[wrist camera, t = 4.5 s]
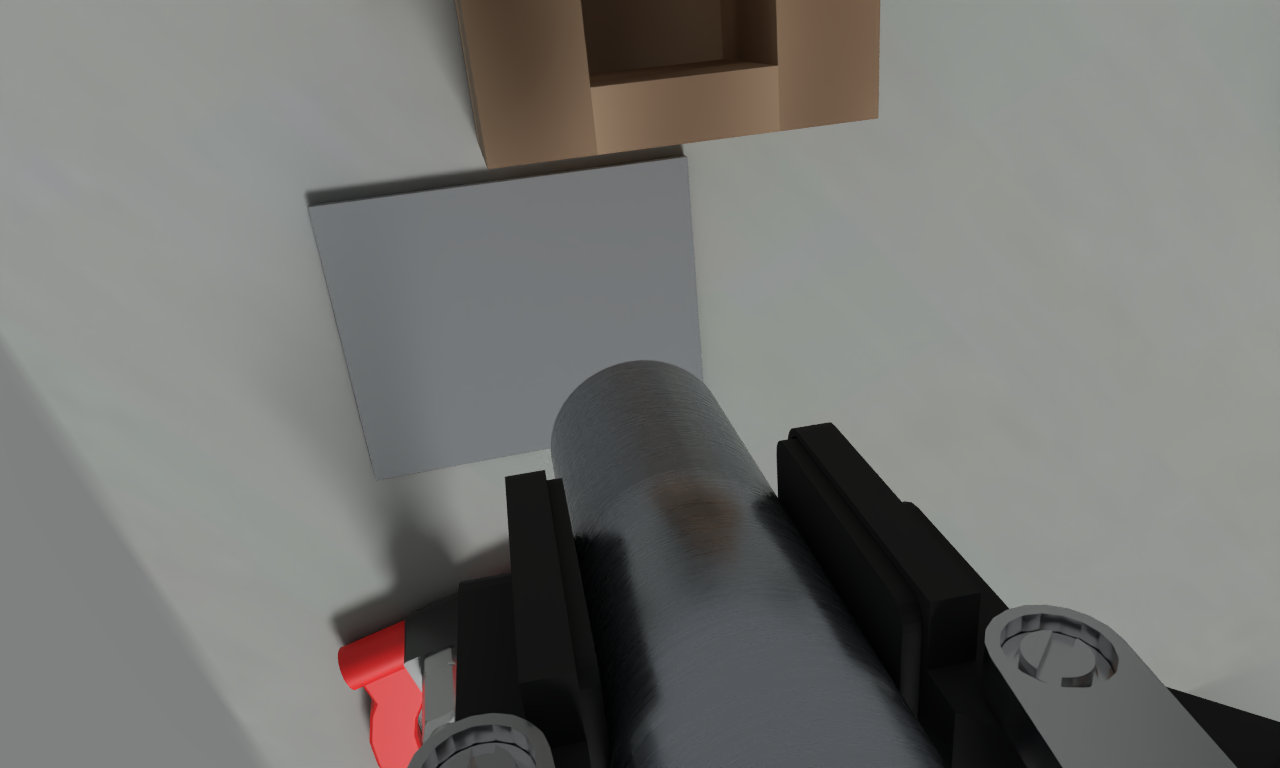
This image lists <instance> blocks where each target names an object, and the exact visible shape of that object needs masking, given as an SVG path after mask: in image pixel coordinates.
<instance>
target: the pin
mask: <svg viewBox="0 0 1280 768" xmlns="http://www.w3.org/2000/svg"><path fill="white" fill-rule="evenodd" d="M551 457H552V462H553V468H554V474H555V479H558V478H562V479H563V484H564V490H565V495H566V500H567V505H568V511H569V516H570V521H571V526H572V532H573V537H574V542H575V547H576V553H577V558H578V563H579V568H580V574H581V579H582V584H583V589H584V595H585V600H586V605H587V610H588V616H589V621H590V626H591V631H592V637H593V642H594V647H595V653H596V658H597V664H598V670H599V676H600V682H601V689H602V695H603V702H604V709H605V716H606V723H607V730H608V737H609V744H610V751H611V760H610V768H947V766H946V764H945V763H944V761H943V760H942V758H941V756H940V755H939V753H938V752H937V750H936V748H935V747H934V745H933V744H932V742H931V741H930V739H929V737H928V736H927V734H926V733H925V731H924V729H923V728H922V726H921V725H920V723H919V721H918V720H917V718H916V717H915V715H914V714H913V712H912V710H911V709H910V707H909V706H908V704H907V702H906V701H905V699H904V698H903V696H902V694H901V693H900V691H899V690H898V688H897V687H896V685H895V683H894V682H893V680H892V679H891V677H890V675H889V674H888V672H887V671H886V669H885V667H884V666H883V664H882V663H881V661H880V660H879V658H878V656H877V655H876V653H875V652H874V650H873V648H872V647H871V645H870V644H869V642H868V640H867V639H866V637H865V636H864V634H863V633H862V631H861V629H860V628H859V626H858V625H857V623H856V621H855V620H854V618H853V617H852V615H851V613H850V612H849V610H848V609H847V607H846V606H845V604H844V602H843V601H842V599H841V598H840V596H839V594H838V593H837V591H836V590H835V588H834V586H833V585H832V583H831V582H830V580H829V579H828V577H827V575H826V574H825V572H824V571H823V569H822V567H821V566H820V564H819V563H818V561H817V559H816V558H815V556H814V555H813V553H812V552H811V550H810V548H809V547H808V545H807V544H806V542H805V540H804V539H803V537H802V536H801V534H800V533H799V531H798V529H797V528H796V526H795V525H794V523H793V521H792V520H791V518H790V517H789V515H788V513H787V512H786V510H785V509H784V507H783V506H782V504H781V502H780V501H779V499H778V498H777V496H776V494H775V493H774V491H773V490H772V488H771V486H770V485H769V483H768V482H767V480H766V479H765V477H764V475H763V474H762V472H761V471H760V469H759V467H758V466H757V464H756V463H755V461H754V459H753V458H752V456H751V455H750V453H749V452H748V450H747V448H746V447H745V445H744V444H743V442H742V440H741V439H740V437H739V436H738V434H737V432H736V431H735V429H734V428H733V426H732V425H731V423H730V421H729V420H728V418H727V417H726V415H725V413H724V412H723V410H722V409H721V407H720V405H719V404H718V402H717V401H716V399H715V398H714V396H713V394H712V393H711V391H710V390H709V389H708V388H707V387H706V385H705V384H704V383H703V382H702V381H701V380H699V379H698V378H697V377H696V376H694V375H693V374H691V373H690V372H688V371H687V370H685V369H682V368H680V367H678V366H676V365H672V364H669V363H666V362H660V361H654V360H637V361H628V362H624V363H619V364H616V365H613V366H610V367H607V368H605V369H603V370H601V371H599V372H597V373H595V374H594V375H592V376H591V377H589V378H588V379H586V380H585V381H584V382H583V383H581V384H580V385H579V386H578V387H577V388H576V389H575V390H574V391H573V392H572V393H571V394H570V395H569V397H568V398H567V399H566V401H565V402H564V404H563V405H562V407H561V409H560V411H559V413H558V415H557V417H556V420H555V423H554V426H553V430H552V435H551Z"/></svg>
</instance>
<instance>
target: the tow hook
mask: <svg viewBox="0 0 1280 768" xmlns="http://www.w3.org/2000/svg"><path fill="white" fill-rule="evenodd" d="M458 595H459V593H458V594H455V595H453V596H451V597H448V598H446V599H444V600H441V601H439V602H437V603H435V604H432V605H430V606H428V607H425V608H423V609H421V610H418V611H416V612H414V613H411V614H409V615H408V616H407V617H406V619H405V620H403V621H401V622H399V623H396V624H394V625H392V626H389V627H387V628H385V629H383V630H380V631H378V632H376V633H373V634H371V635H369V636H366V637H364V638H362V639H359V640H357V641H355V642H352V643H350V644H348V645H345V646H343V647H341V648H340V649H339V651H338V663H339V667H340V671H341V673H342V676H343V678H344V680H345V682H346V683H347V685H348V686H349V687H350V688H351V689H353V690H356V689H358V688H361V687H364V688H365V690H366V691H367V692H368V694H369V695H370V697H371V698H372V701H371V712H370V744H371V747H372V750H373V752H374V755H375V758H376V761H377V763H378V766H379V767H380V768H407V767H408V765H409V763H410V761H411V759H412V757H413V755H414V754H415V752H416V751H417V750H418V749H419V748H420V747H421V746H422V745H423V744H424V743H425V742H426V741H427V740H428V739H429V738H430V737H431V736H433V735H434V734H436V733H437V732H439V731H440V730H442V729H443V728H445V727H446V726H448V725H449V724H452V723H455V704H456V668H457V632H458ZM421 708H422V734H421V731H420V728H419V725H418V716H419V713H420V711H421Z"/></svg>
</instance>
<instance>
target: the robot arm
mask: <svg viewBox="0 0 1280 768" xmlns="http://www.w3.org/2000/svg"><path fill="white" fill-rule="evenodd" d="M777 478H778V499H779V501H780V502H781V504H782V506H783V507H784V509H785V510H786V512H787V513H788V515H789V517H790V518H791V520H792V521H793V523H794V525H795V526H796V528H797V529H798V531H799V533H800V534H801V536H802V537H803V539H804V540H805V542H806V544H807V545H808V547H809V548H810V550H811V552H812V553H813V555H814V556H815V558H816V559H817V561H818V563H819V564H820V566H821V567H822V569H823V571H824V572H825V574H826V575H827V577H828V579H829V580H830V582H831V583H832V585H833V586H834V588H835V590H836V591H837V593H838V594H839V596H840V598H841V599H842V601H843V602H844V604H845V606H846V607H847V609H848V610H849V612H850V613H851V615H852V617H853V618H854V620H855V621H856V623H857V625H858V626H859V628H860V629H861V631H862V633H863V634H864V636H865V637H866V639H867V640H868V642H869V644H870V645H871V647H872V648H873V650H874V652H875V653H876V655H877V656H878V658H879V660H880V661H881V663H882V664H883V666H884V667H885V669H886V671H887V672H888V674H889V675H890V677H891V679H892V680H893V682H894V683H895V685H896V687H897V688H898V690H899V691H900V693H901V694H902V696H903V698H904V699H905V701H906V702H907V704H908V706H909V707H910V709H911V710H912V712H913V714H914V715H915V717H916V718H917V720H918V721H919V723H920V725H921V726H922V728H923V729H924V731H925V733H926V734H927V736H928V737H929V739H930V741H931V742H932V744H933V745H934V747H935V748H936V750H937V752H938V753H939V755H940V756H941V758H942V760H943V761H944V763H945V764H946V766H947V768H1280V722H1278V721H1274V720H1271V719H1268V718H1265V717H1262V716H1258V715H1255V714H1252V713H1249V712H1246V711H1242V710H1239V709H1236V708H1233V707H1229V706H1226V705H1223V704H1220V703H1217V702H1213V701H1210V700H1207V699H1204V698H1200V697H1197V696H1194V695H1191V694H1187V693H1184V692H1181V691H1178V690H1175V689H1171V688H1168V687H1166V686H1165V685H1164V684H1163V683H1162V682H1161V681H1160V680H1159V679H1158V677H1157V676H1156V675H1155V674H1154V673H1153V672H1152V671H1151V669H1150V668H1149V667H1148V666H1147V665H1146V664H1145V663H1144V662H1143V660H1142V659H1141V658H1140V657H1139V656H1138V655H1137V654H1136V652H1135V651H1134V650H1133V649H1132V648H1131V647H1130V646H1129V645H1128V643H1127V642H1126V641H1125V640H1124V639H1123V638H1122V637H1121V636H1119V635H1118V634H1117V633H1116V632H1115V631H1114V630H1112V629H1111V628H1110V627H1109V626H1107V625H1105V624H1104V623H1102V622H1100V621H1098V620H1096V619H1095V618H1093V617H1091V616H1089V615H1086V614H1083V613H1080V612H1077V611H1074V610H1071V609H1068V608H1062V607H1056V606H1050V605H1024V606H1020V607H1016V608H1012V609H1009V608H1008V607H1007V606H1006V605H1005V603H1004V602H1003V601H1002V600H1001V599H1000V598H999V597H998V596H997V595H996V593H995V592H994V591H993V590H992V589H991V588H990V587H989V586H988V585H987V584H986V582H985V581H984V580H983V579H982V578H981V577H980V576H979V575H978V574H977V572H976V571H975V570H974V569H973V568H972V567H971V566H970V565H969V564H968V562H967V561H966V560H965V559H964V558H963V557H962V556H961V555H960V554H959V552H958V551H957V550H956V549H955V548H954V547H953V546H952V545H951V544H950V542H949V541H948V540H947V539H946V538H945V537H944V536H943V535H942V534H941V533H940V531H939V530H938V529H937V528H936V527H935V526H934V525H933V524H932V523H931V521H930V520H929V519H928V518H927V517H926V516H925V515H924V514H923V513H922V511H921V510H920V509H919V508H918V507H917V506H915V505H914V504H913V503H912V502H901V501H900V499H899V498H898V497H897V496H896V495H895V494H894V493H893V491H892V490H891V489H890V488H889V487H888V486H887V485H886V484H885V482H884V481H883V480H882V479H881V478H880V477H879V476H878V474H877V473H876V472H875V471H874V470H873V469H872V468H871V466H870V465H869V464H868V463H867V462H866V461H865V460H864V458H863V457H862V456H861V455H860V454H859V453H858V452H857V451H856V449H855V448H854V447H853V446H852V445H851V444H850V443H849V441H848V440H847V439H846V438H845V437H844V436H843V435H842V433H841V432H840V431H839V430H838V429H837V428H836V427H835V426H834V425H833V424H832V423H831V422H830V423H823V424H817V425H811V426H805V427H799V428H793V429H791V430H790V432H789V436H788V440H783V441H779V442H778V444H777ZM505 483H506V498H507V513H508V529H509V544H510V559H511V573H508V574H503V575H497V576H492V577H486V578H480V579H475V580H469V581H464V582H461V583H460V584H459V595H458V632H457V668H456V704H455V723H452V724H449V725H448V726H446V727H445V728H443V729H442V730H440V731H439V732H437V733H436V734H434V735H433V736H431V737H430V738H429V739H428V740H427V741H426V742H425V743H424V744H423V745H422V746H421V747H420V748H419V749H418V750H417V751H416V752H415V754H414V755H413V757H412V759H411V761H410V763H409V765H408V767H407V768H610V760H611V751H610V744H609V737H608V730H607V723H606V716H605V709H604V702H603V695H602V689H601V682H600V676H599V670H598V664H597V658H596V653H595V647H594V642H593V637H592V631H591V626H590V621H589V616H588V610H587V605H586V600H585V595H584V589H583V584H582V579H581V574H580V568H579V563H578V558H577V553H576V547H575V542H574V537H573V532H572V526H571V521H570V516H569V511H568V505H567V500H566V495H565V490H564V484H563V479H562V478H558V479H552V480H546V474H545V470H542V471H536V472H531V473H525V474H519V475H513V476H507V477H505Z"/></svg>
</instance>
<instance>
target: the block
mask: <svg viewBox="0 0 1280 768" xmlns="http://www.w3.org/2000/svg"><path fill="white" fill-rule="evenodd" d="M455 5H456V11H457V17H458V23H459V29H460V35H461V42H462V48H463V54H464V60H465V66H466V72H467V78H468V84H469V90H470V96H471V102H472V108H473V114H474V120H475V126H476V133H477V139H478V144H479V147H480V149H481V152H482V155H483V157H484V160H485V163H486V165H487V168H488V169H494V168H501V167H509V166H517V165H524V164H532V163H540V162H547V161H555V160H563V159H570V158H578V157H585V156H593V155H601V154H608V153H616V152H624V151H631V150H639V149H647V148H654V147H662V146H670V145H677V144H685V143H693V142H700V141H708V140H716V139H723V138H731V137H739V136H746V135H754V134H762V133H769V132H777V131H785V130H792V129H800V128H807V127H815V126H823V125H830V124H838V123H846V122H853V121H861V120H869V119H876V118H878V104H879V40H880V0H455Z"/></svg>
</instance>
